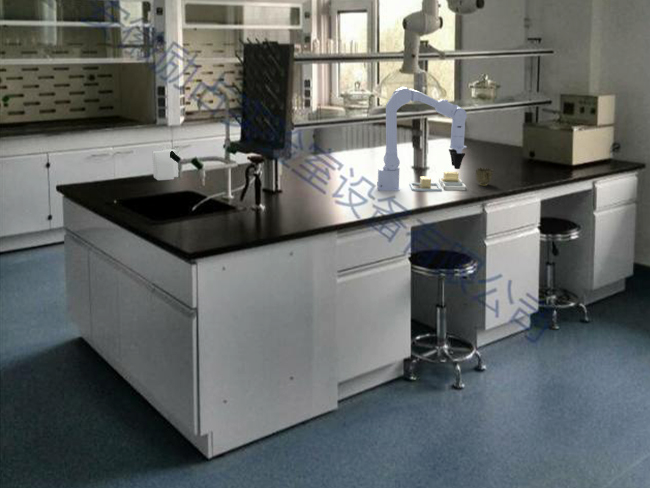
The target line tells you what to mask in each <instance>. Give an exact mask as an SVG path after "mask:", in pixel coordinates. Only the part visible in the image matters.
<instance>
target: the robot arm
mask: <svg viewBox="0 0 650 488" xmlns="http://www.w3.org/2000/svg"><path fill="white" fill-rule="evenodd" d="M410 101H411V102H412V103H413V102H418V101H419V102H420V103H423V104H425V105H428V106H430V107H433V108H435V112H437V113H438V114H440V115H443V116H445V117H447V118H451V119H452V121H451V132H450V146H449V149H448V152H449V155H450V159H451V166H453V167H454V170H460V169H461V167H462V162H463V160H464V158H465V155H466V153H464V152H463V150H464V149H467V145H465V132H466V120H467V118H468V114H467V111H466V109H464V108H462V107H461V106H459V105H458V104H453V103H451V102H449V100H448V99H440V100H437V99H435V98H433V97H431V96H430V95H427V94H425V93H423V92H420V91H419V90H415V89H413V88H408V87H406V86H399V87H398V88H397V89H395V90H394V91H393V93H392V94H391V96H390V98H389V99H388V101H387V103H386V105H385V155H384V157H383V163H384V166H383V167H382V168H379V169H377V170H378V171H377V183H376V185H377V189H378V190H377V191H401V188H400V171H401V170H400V167H399V166H400V158H399V156H398V143H397V142H398V133H397V132H398V131H397V129H398V127H397V124H398V123H397V120H398V119H397V118H398V117H397V113H398V112H397V111H398V110H399V109H400V108H401V107H402V106H404V105H406V104H408V103H410Z"/></svg>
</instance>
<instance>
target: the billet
mask: <svg viewBox="0 0 650 488" xmlns="http://www.w3.org/2000/svg"><path fill="white" fill-rule="evenodd" d="M419 183H420V185H419V187H420V188H419V189H432V188H431V187H432V185H431V183H432V177H430V176H419Z"/></svg>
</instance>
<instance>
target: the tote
mask: <svg viewBox="0 0 650 488" xmlns="http://www.w3.org/2000/svg"><path fill="white" fill-rule="evenodd" d="M408 185H409V187H410V189H411V191H412V192H415V191H417V192H442V190H443V188H442V186H441V185H440V183H439V182H435V183H434V182H431V186H435V187H436V188H431V189H421V188H415V187H414V186H420V182H409V184H408Z"/></svg>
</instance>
